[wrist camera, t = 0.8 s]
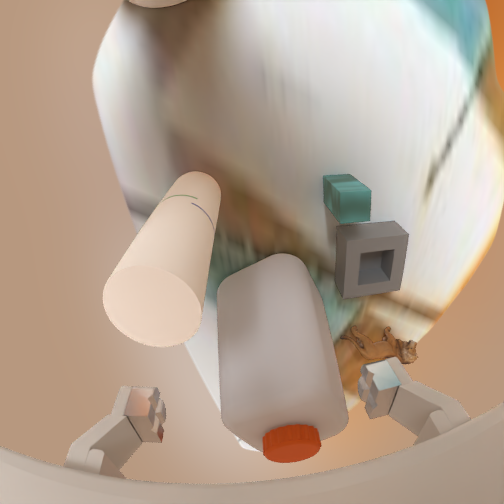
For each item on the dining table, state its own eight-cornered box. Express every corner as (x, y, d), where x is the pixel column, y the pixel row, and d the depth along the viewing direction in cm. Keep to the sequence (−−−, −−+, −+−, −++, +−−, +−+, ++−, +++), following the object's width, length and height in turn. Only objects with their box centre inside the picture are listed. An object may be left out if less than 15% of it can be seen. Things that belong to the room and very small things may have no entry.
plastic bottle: (327, 308, 52) (375, 450, 27) (252, 340, 55) (260, 483, 30) (293, 240, 46) (345, 399, 21) (207, 282, 48) (187, 444, 24)
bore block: (336, 226, 45) (346, 240, 40) (394, 220, 44) (408, 234, 40) (334, 281, 49) (343, 299, 45) (388, 273, 49) (399, 290, 45)
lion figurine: (407, 320, 55) (425, 350, 47) (399, 338, 58) (415, 368, 50) (342, 325, 54) (355, 360, 46) (337, 345, 57) (348, 379, 49)
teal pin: (323, 175, 41) (340, 192, 34) (349, 174, 41) (371, 190, 34) (323, 202, 43) (340, 223, 36) (349, 200, 43) (369, 221, 36)
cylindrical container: (201, 228, 44) (169, 359, 22) (161, 200, 42) (89, 313, 20) (231, 191, 42) (223, 304, 20) (190, 161, 39) (128, 244, 17)
